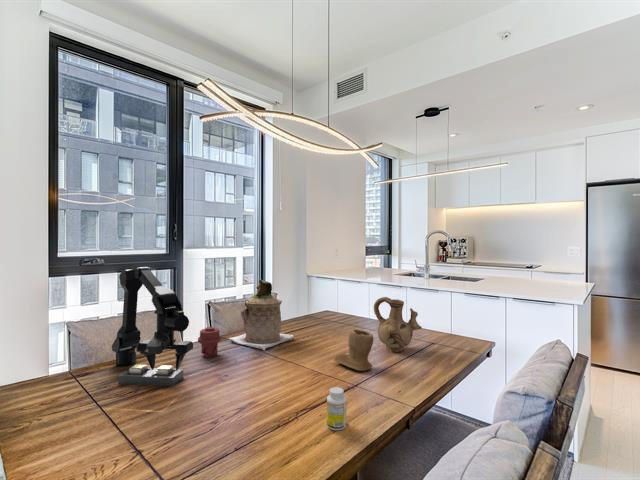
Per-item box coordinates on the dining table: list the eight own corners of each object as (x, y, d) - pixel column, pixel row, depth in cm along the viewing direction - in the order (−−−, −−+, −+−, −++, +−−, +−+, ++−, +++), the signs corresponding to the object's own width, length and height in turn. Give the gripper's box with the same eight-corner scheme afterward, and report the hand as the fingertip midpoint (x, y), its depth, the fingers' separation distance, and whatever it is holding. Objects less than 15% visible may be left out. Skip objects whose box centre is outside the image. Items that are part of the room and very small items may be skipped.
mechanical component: (225, 352, 157) (214, 360, 147) (205, 351, 159) (193, 358, 149) (225, 325, 157) (214, 331, 147) (205, 324, 159) (193, 330, 149)
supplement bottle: (334, 418, 101) (335, 384, 101) (350, 425, 97) (350, 389, 97) (322, 426, 97) (323, 390, 97) (338, 433, 93) (338, 396, 93)
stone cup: (379, 368, 141) (379, 331, 140) (359, 375, 133) (359, 337, 133) (352, 358, 152) (353, 324, 152) (332, 364, 144) (333, 328, 144)
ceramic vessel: (392, 358, 152) (393, 302, 151) (366, 346, 168) (367, 295, 168) (422, 352, 160) (423, 299, 160) (394, 341, 177) (395, 293, 177)
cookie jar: (295, 338, 180) (296, 278, 180) (264, 351, 159) (264, 283, 159) (260, 331, 193) (260, 274, 193) (227, 342, 172) (227, 279, 172)
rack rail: (118, 385, 122) (118, 375, 122) (132, 376, 130) (132, 367, 130) (172, 387, 120) (172, 377, 120) (183, 378, 128) (183, 369, 128)
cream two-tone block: (156, 383, 123) (156, 369, 123) (162, 378, 127) (162, 364, 127) (167, 383, 122) (167, 369, 122) (173, 378, 127) (173, 365, 127)
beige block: (129, 382, 123) (129, 368, 123) (136, 377, 128) (136, 363, 127) (140, 382, 123) (140, 368, 123) (147, 377, 127) (147, 364, 127)
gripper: (126, 332, 117) (126, 377, 117) (179, 334, 116) (179, 380, 116) (145, 324, 128) (145, 365, 128) (194, 325, 127) (193, 367, 127)
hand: (165, 369), depth 125 cm, fingers open, 9 cm apart
